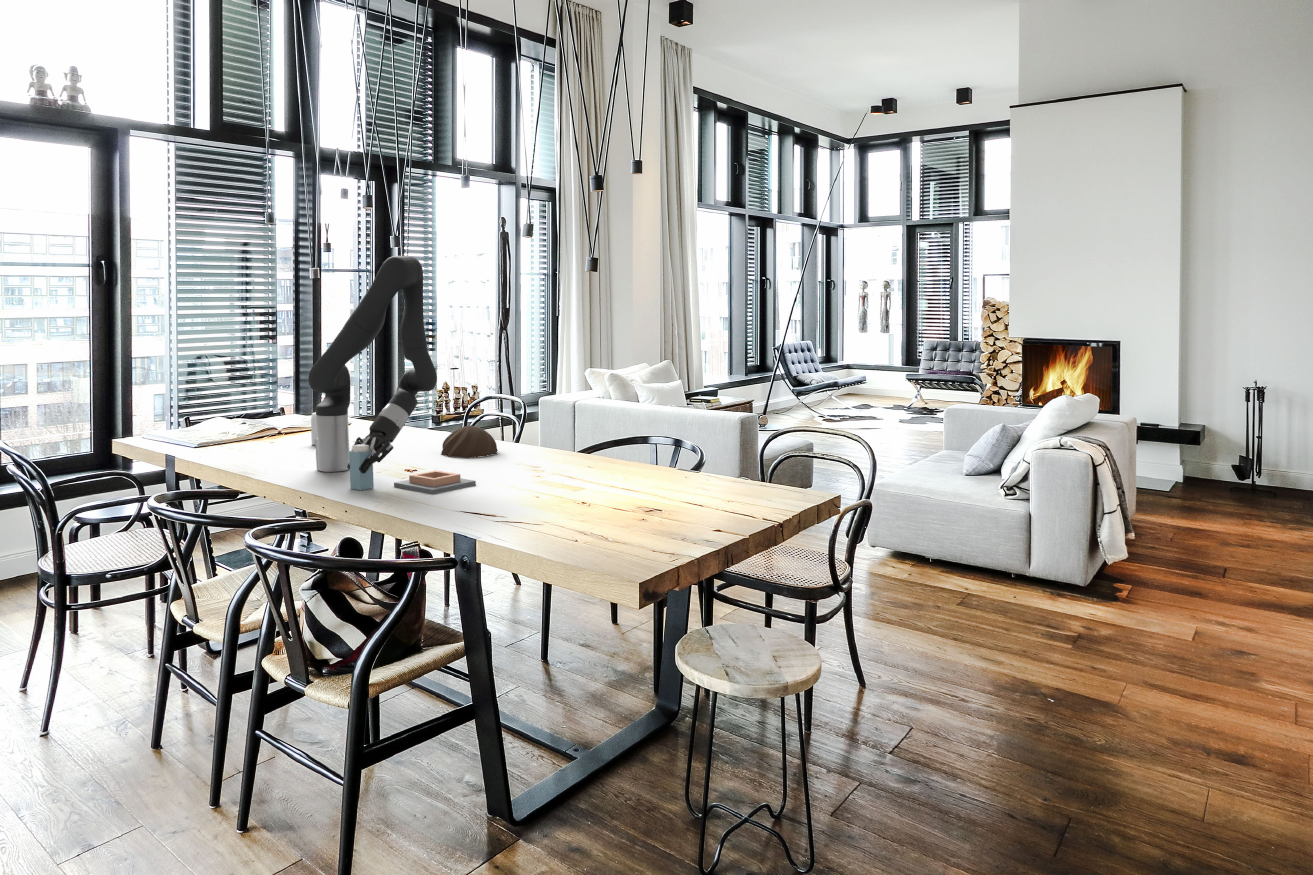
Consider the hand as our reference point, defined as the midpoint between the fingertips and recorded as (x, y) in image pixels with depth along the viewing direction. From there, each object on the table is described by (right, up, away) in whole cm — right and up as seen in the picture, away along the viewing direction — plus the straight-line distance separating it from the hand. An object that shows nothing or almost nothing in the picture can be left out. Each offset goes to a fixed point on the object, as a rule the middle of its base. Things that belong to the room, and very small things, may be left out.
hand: (355, 470), depth 248 cm
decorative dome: (+18, +3, +64) cm, 67 cm away
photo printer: (-37, +7, +79) cm, 88 cm away
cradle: (+20, -5, +7) cm, 22 cm away
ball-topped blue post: (+1, -5, +2) cm, 6 cm away
